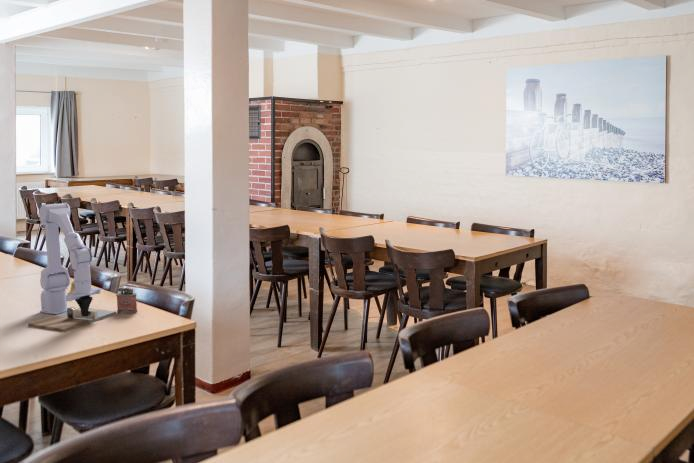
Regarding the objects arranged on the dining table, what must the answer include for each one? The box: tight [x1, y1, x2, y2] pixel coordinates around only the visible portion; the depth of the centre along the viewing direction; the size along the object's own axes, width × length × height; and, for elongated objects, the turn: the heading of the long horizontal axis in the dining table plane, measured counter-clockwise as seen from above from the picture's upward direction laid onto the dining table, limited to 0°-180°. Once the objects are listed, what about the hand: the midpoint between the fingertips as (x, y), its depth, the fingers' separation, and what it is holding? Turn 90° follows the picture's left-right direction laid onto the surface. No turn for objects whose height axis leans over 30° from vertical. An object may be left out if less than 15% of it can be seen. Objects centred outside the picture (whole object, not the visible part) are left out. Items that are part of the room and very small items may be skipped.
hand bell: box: [67, 269, 75, 295], centre depth 305 cm, size 8×8×16 cm
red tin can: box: [115, 286, 138, 314], centre depth 273 cm, size 8×3×10 cm, turn 84°
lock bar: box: [66, 306, 98, 319], centre depth 260 cm, size 13×3×3 cm, turn 72°
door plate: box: [54, 307, 117, 324], centre depth 268 cm, size 18×14×1 cm
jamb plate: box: [27, 315, 90, 333], centre depth 256 cm, size 18×12×1 cm, turn 65°
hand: (85, 316), depth 258 cm, fingers closed, pressing on lock bar
